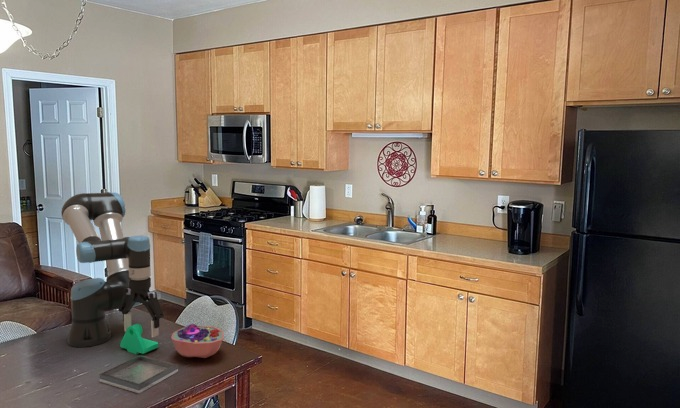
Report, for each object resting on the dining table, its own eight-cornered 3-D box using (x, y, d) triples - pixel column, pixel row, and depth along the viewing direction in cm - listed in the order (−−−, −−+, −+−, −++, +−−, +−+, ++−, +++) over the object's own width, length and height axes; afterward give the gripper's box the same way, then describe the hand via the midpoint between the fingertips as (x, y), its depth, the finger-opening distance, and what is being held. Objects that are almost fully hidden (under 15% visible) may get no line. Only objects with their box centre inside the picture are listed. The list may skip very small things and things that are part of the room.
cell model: (201, 371, 170) (201, 339, 168) (161, 357, 179) (160, 327, 178) (235, 353, 184) (235, 324, 183) (195, 342, 194) (195, 314, 193)
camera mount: (159, 349, 187) (159, 323, 186) (143, 356, 180) (142, 329, 179) (137, 343, 192) (136, 317, 191) (120, 349, 185) (119, 323, 184)
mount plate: (99, 381, 160) (99, 374, 160) (140, 361, 175) (140, 354, 175) (139, 393, 153) (138, 385, 153) (177, 371, 168) (177, 364, 168)
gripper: (107, 276, 185) (108, 331, 187) (157, 284, 175) (159, 342, 177) (123, 271, 192) (124, 324, 194) (173, 279, 182) (174, 335, 184)
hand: (141, 333), depth 185 cm, fingers open, 13 cm apart
